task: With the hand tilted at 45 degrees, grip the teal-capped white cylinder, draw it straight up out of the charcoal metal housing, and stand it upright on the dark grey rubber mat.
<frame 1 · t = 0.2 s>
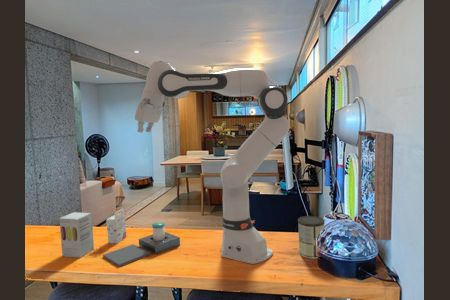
hand: (144, 132, 130), 51 cm above the table, tool tilted 20°, fingers open, 8 cm apart
coffee can: (311, 253, 126), on the table
rubber mat: (126, 255, 130), on the table
teal-capped white cylinder: (159, 235, 139), in the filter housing
supplement box: (78, 253, 136), on the table
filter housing: (159, 245, 140), on the table
ink cartridge box: (117, 240, 149), on the table
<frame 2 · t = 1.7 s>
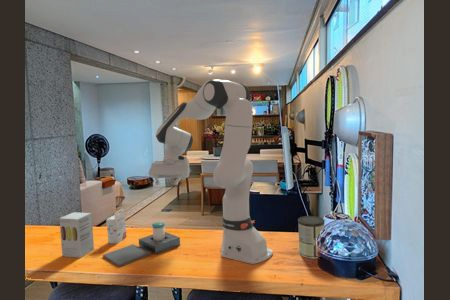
hand: (166, 184, 149), 26 cm above the table, tool tilted 45°, fingers open, 8 cm apart
nothing on the table moved.
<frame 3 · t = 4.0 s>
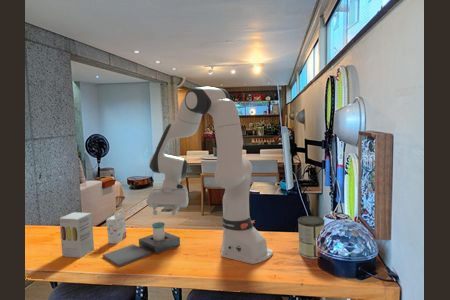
hand: (164, 214, 146), 12 cm above the table, tool tilted 45°, fingers open, 8 cm apart
nothing on the table moved.
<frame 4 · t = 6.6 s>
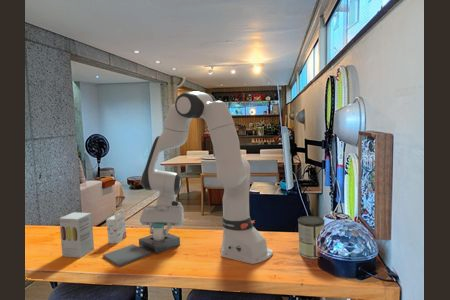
hand: (158, 233, 138), 6 cm above the table, tool tilted 45°, fingers closed on teal-capped white cylinder, 5 cm apart
teal-capped white cylinder: (158, 235, 139), in the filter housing, touching gripper
everything else where it was.
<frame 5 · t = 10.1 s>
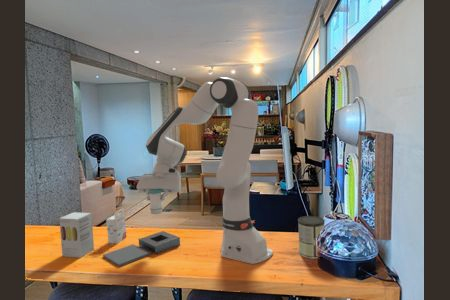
hand: (155, 199, 137), 21 cm above the table, tool tilted 45°, fingers closed on teal-capped white cylinder, 5 cm apart
teal-capped white cylinder: (155, 201, 137), point 20 cm above the table, touching gripper
everything else where it was.
when the fingers open (8 cm above the table, at t = 13.9 s): teal-capped white cylinder drops 1 cm, resting on rubber mat.
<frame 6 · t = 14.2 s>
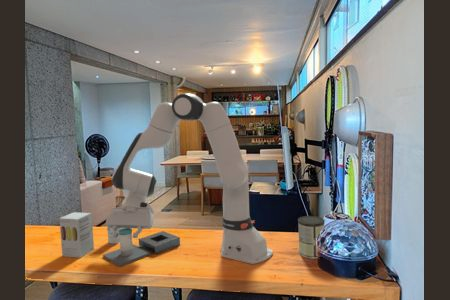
hand: (124, 237, 129), 8 cm above the table, tool tilted 45°, fingers open, 8 cm apart
teal-capped white cylinder: (126, 242, 130), on the rubber mat, point 6 cm above the table
everything else where it was.
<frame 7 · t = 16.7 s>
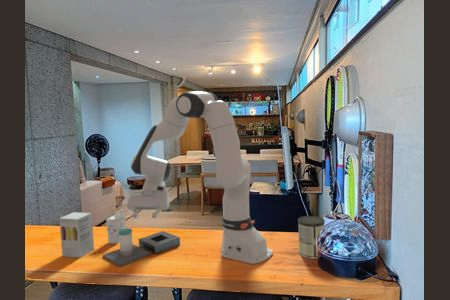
hand: (144, 217, 143), 12 cm above the table, tool tilted 45°, fingers open, 8 cm apart
nothing on the table moved.
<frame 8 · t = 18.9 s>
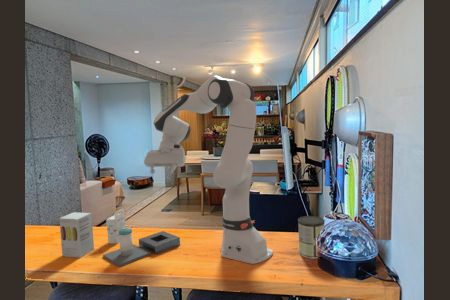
hand: (161, 172, 148), 31 cm above the table, tool tilted 45°, fingers open, 8 cm apart
nothing on the table moved.
at the end: teal-capped white cylinder inside the target area on the rubber mat (0.1 cm from its centre), point 6.0 cm above the rubber mat's base; teal-capped white cylinder tilted 0°; the gripper is holding nothing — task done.
